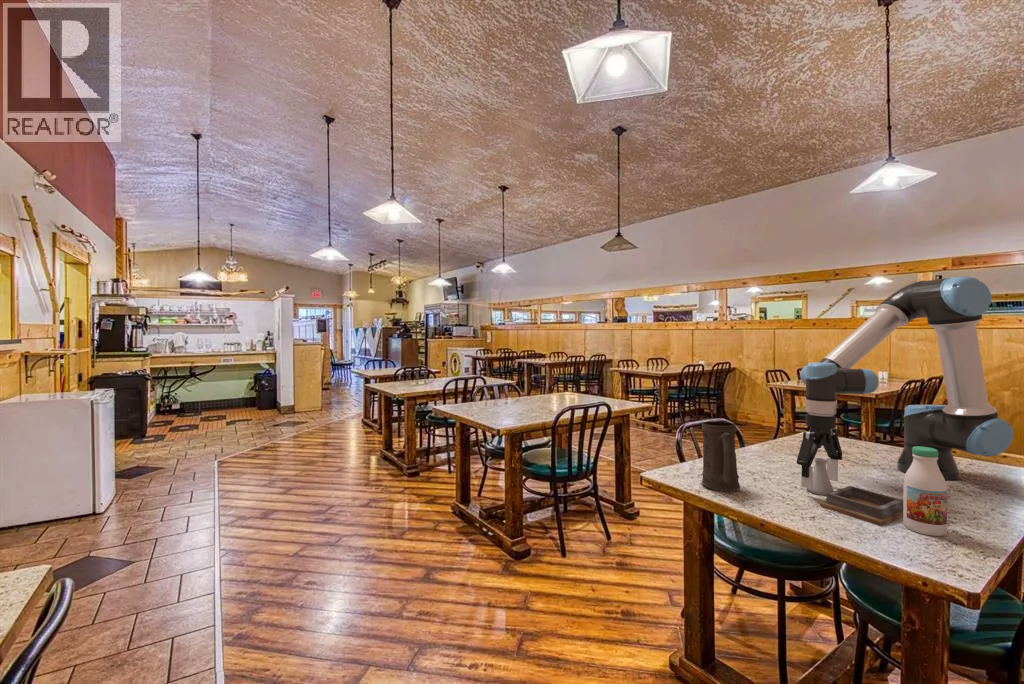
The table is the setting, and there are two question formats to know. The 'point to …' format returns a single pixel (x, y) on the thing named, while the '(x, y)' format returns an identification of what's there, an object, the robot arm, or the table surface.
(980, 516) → the table surface
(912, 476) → the milk bottle
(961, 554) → the table surface
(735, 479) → the beer stein
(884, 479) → the table surface
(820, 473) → the flask
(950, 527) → the table surface
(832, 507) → the rectangular tray
